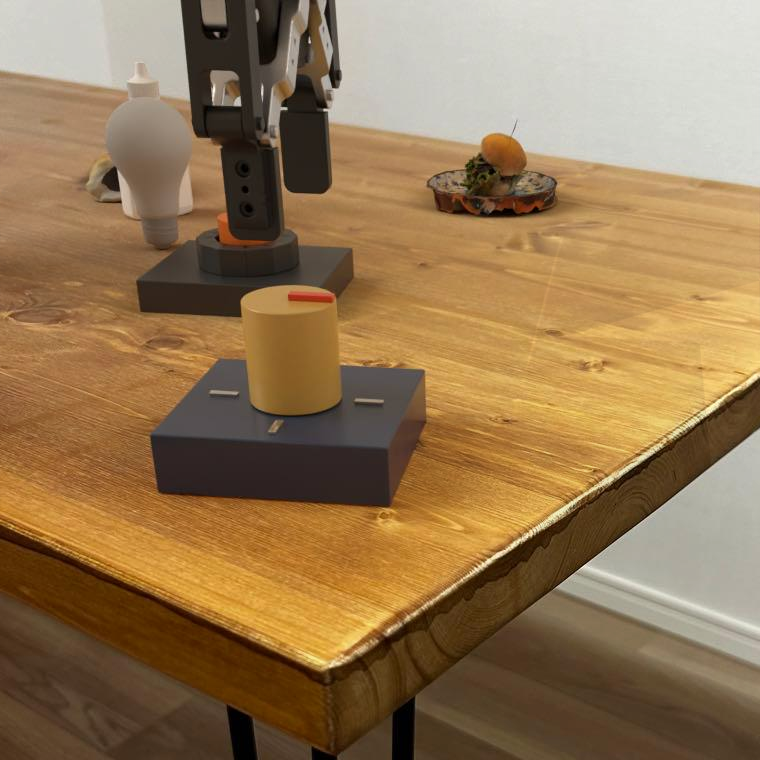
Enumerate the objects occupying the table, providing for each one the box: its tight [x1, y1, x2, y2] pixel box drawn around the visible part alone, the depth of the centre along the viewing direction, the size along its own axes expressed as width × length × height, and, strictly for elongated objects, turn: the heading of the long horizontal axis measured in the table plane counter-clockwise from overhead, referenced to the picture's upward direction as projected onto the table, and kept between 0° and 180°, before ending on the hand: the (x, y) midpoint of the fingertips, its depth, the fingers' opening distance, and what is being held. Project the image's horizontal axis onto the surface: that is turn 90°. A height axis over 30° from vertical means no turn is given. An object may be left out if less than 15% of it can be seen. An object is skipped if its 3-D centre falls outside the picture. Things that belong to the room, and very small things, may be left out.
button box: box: [135, 227, 355, 318], centre depth 81 cm, size 12×10×4 cm
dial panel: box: [149, 357, 427, 508], centre depth 59 cm, size 11×10×3 cm
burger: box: [425, 118, 559, 215], centre depth 106 cm, size 12×12×8 cm
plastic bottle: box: [117, 61, 194, 221], centre depth 97 cm, size 4×6×12 cm
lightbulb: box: [104, 97, 194, 250], centre depth 89 cm, size 6×6×11 cm
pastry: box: [85, 153, 122, 203], centre depth 106 cm, size 9×7×4 cm
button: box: [216, 211, 275, 245], centre depth 80 cm, size 4×4×2 cm
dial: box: [241, 285, 342, 415], centre depth 57 cm, size 4×4×5 cm
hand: (285, 213), depth 54 cm, fingers open, 8 cm apart
